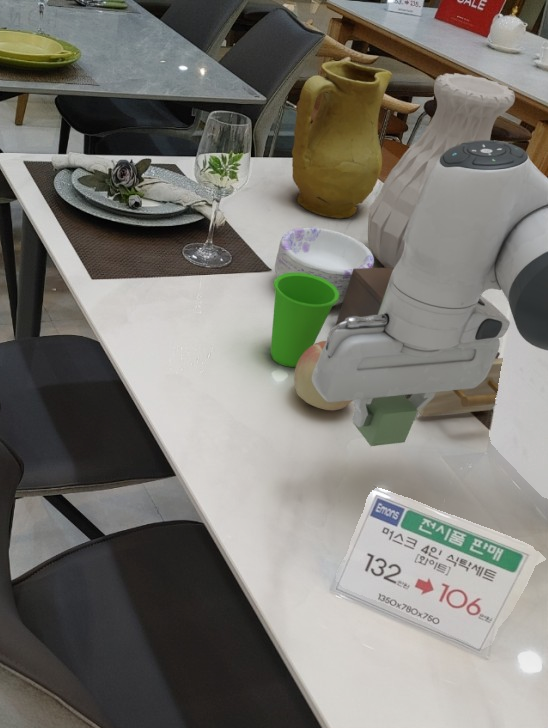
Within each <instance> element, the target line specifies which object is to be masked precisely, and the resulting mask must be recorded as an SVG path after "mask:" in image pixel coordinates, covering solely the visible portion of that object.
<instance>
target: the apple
mask: <svg viewBox="0 0 548 728" xmlns="http://www.w3.org/2000/svg"><path fill="white" fill-rule="evenodd" d="M326 341H327V340H321V341H318V342H316V343H314V344H313V345H312V346H310V347H309V348H308V349H307V350H306V351H305V352H304V353H303V354H302V356H301V357H300V359H299V361H298V363H297V365H296V367H295V369H294V374H293V382H294V383H293V385H294V389H295V392H296V394H297V396H298V397H300V399H301V400H303V401H304V402H305V403H307V404H308V405H310V406H313V407H314V408H318V409H321V410H323V411H324V410H325V411H339V410H341V409H344V408H346V407H347V406H348V405H350V404H351V403H353V400H348V401H338V402H327V401H325V400H324V398H323V397H322V396H321V395H320V394H319V393H318V391H317V390H316V388H315V387H314V385H313V383H312V375H313V372H314V369H315V366H316V364H317V361H318V359H319V356H320V354H321V352H322V350H323V348H324V346H325V344H326Z"/></svg>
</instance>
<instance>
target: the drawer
mask: <svg viewBox="0 0 548 728" xmlns="http://www.w3.org/2000/svg"><path fill="white" fill-rule="evenodd" d="M500 355H501V353H500V352H499V351H498V353H497V355H496V358H495V360H494V362H493V365H492V367H491V369H490V371H489V373H488V375H487V376H486V378H485V379H484V381H482V382H481V383H480V384H479V385H478V386H476V387H475V388H471V389H460V390H450V391H439V392H436V393H435V395H434V398H433V399H432V400H431V401H430V402H428V403H427V404H426V405H425V406H424V407H423V408H422V409H421V410H419V412H418V415H420V416H421V417H431V416H441V415H451V414H463V413H474V412H481V411H482V412H484V411H485V412H486V411H492V410H493V407H494V406H495V405H496V404H495V398H496V395H497V394H496V393H497V391H498V383H499V378H500V371H501V366H502V362H503V358H504V357H499V356H500ZM409 395H410V397H411V396H412V394H409ZM494 404H495V405H494ZM493 405H494V406H493Z"/></svg>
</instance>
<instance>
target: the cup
mask: <svg viewBox="0 0 548 728" xmlns="http://www.w3.org/2000/svg"><path fill="white" fill-rule="evenodd" d="M273 288H274V290H275V291H274V304H273V317H272V329H271V343H270V354H271V355H270V356H271V359H272V360H273V361H274V362H276V363H277V364H279V365H281V366H283V367H290V368H296V365H297V363H298V361H299V359H300V357H301V356H302V354H303V353H304V352H305V351H306V350H307V349H308V348H309V347H310V346H312V345H314V344H315V342H316V340H317V338H318V336H319V334H320V332H321V330H322V328H323V326H324V325H325V322H326V320H327V318H328V316H329V314H330V312H331V310H332V308H333V307H334V306H333V304H334V303H336V302H337V301H338V299H339V292H338V290H337V288H336V287H335V286H334V285H333V284H331V283H330V282H328V281H327V280H325V279H323V278H321V277H318V276H315V275H311V274H306V273H285V274H283V275H280V276H277V277H276V278H275V279H274V281H273Z"/></svg>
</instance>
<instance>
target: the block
mask: <svg viewBox="0 0 548 728" xmlns="http://www.w3.org/2000/svg"><path fill="white" fill-rule="evenodd" d="M408 399H409V398H408V397H407V396H406V395H399V396H389V397H379V398H373V399H372V401H371V403H370V404H366V406H367V407H368V408H369V409H370V411H371V412H372V413H373V414H374V416H373V419H372V421H371V424H370V426H364V427H357V426H356V425H355V423H354V422H353V421H352V424H353V425H354V426H355V427H356V429H357V430H358V431H359V433H360V434H361V436H363V438H364V440H365V441H366V442H367V444H368V445H369V446H370V447H377V446H386V445H393V444H402V443H406V441H407V438H408V435H409V433H410V431H411V428H412V426H413V423H414V422H415V421H414V419H415V417H416V414H417V412H418V410H417V409H416V408H415V407H414V406H413V405H412V404H411V402H410V401H409V400H408ZM417 415H418V414H417ZM416 418H417V417H416ZM415 420H416V419H415Z"/></svg>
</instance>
